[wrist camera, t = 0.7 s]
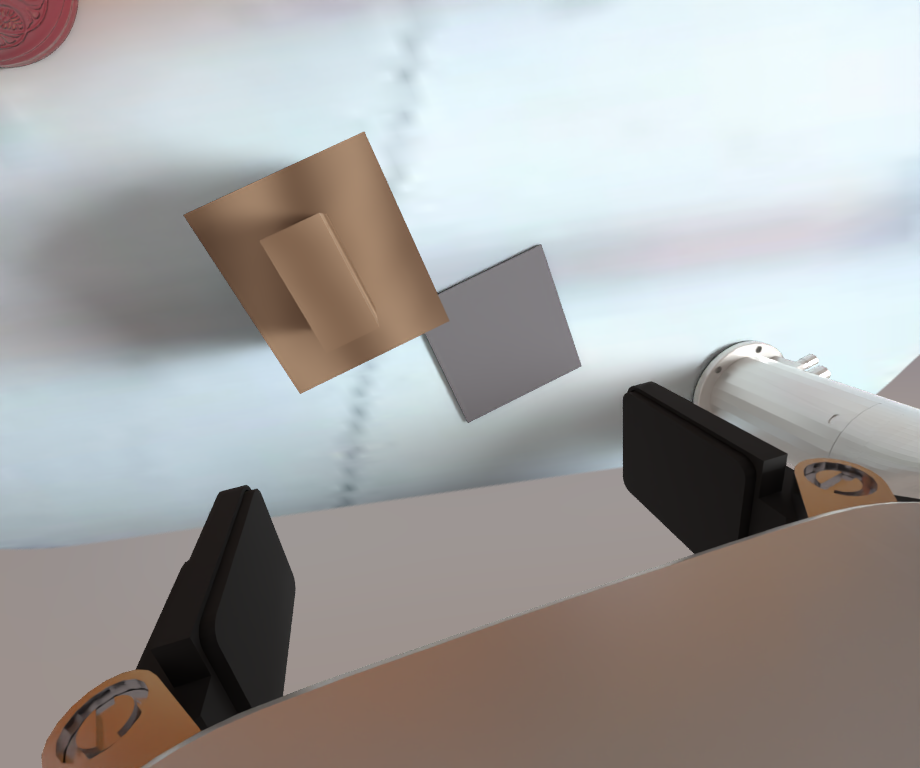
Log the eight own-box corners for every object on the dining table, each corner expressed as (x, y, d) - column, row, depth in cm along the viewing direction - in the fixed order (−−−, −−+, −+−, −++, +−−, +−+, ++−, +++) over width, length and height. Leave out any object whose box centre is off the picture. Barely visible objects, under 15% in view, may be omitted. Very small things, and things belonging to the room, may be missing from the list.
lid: (363, 137, 27) (366, 106, 19) (444, 315, 31) (471, 344, 24) (195, 215, 26) (132, 213, 19) (303, 383, 31) (287, 434, 24)
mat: (539, 244, 43) (541, 244, 43) (579, 364, 49) (581, 366, 49) (411, 306, 43) (412, 307, 42) (467, 421, 48) (467, 422, 48)
